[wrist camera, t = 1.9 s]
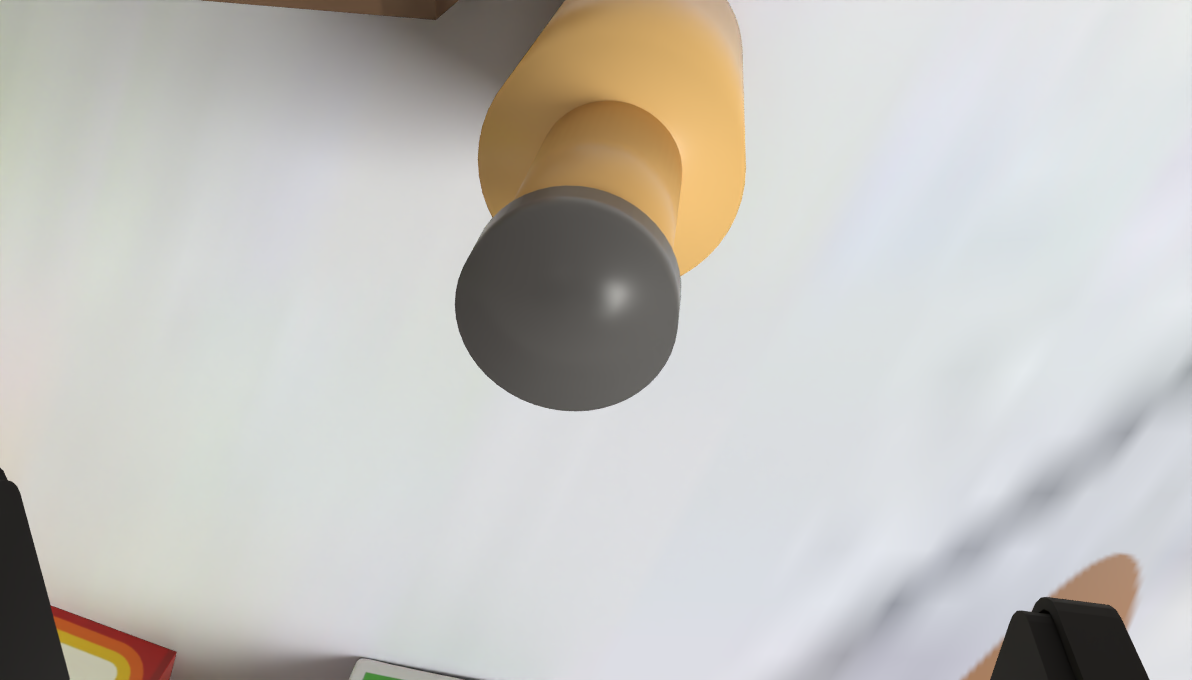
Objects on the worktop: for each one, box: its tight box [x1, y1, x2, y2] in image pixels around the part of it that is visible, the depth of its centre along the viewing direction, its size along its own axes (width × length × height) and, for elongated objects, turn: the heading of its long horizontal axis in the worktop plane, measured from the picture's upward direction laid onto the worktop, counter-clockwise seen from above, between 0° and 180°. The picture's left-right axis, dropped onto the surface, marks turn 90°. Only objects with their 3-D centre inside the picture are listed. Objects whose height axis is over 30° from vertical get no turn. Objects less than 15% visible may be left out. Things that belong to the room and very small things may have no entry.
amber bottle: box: [455, 0, 746, 411], centre depth 21 cm, size 5×5×15 cm
